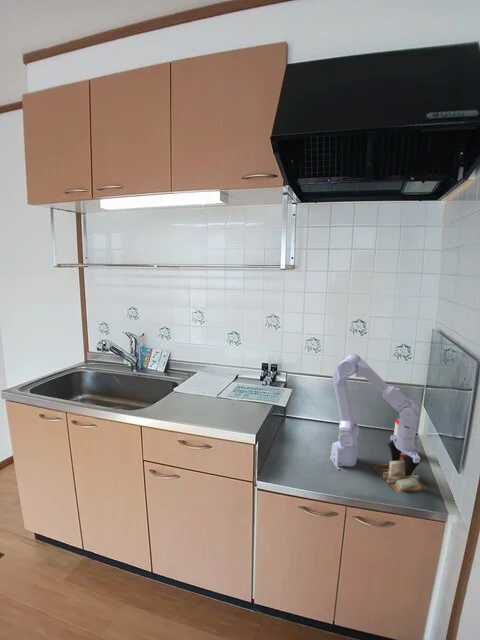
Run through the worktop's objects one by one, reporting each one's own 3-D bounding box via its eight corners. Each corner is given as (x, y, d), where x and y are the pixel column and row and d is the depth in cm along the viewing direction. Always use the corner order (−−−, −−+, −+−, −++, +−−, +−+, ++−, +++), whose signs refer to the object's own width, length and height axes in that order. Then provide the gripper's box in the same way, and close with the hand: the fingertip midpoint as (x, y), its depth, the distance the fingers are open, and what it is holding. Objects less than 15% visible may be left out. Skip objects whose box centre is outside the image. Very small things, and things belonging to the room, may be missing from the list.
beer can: (409, 460, 136) (414, 424, 133) (393, 458, 137) (398, 422, 134) (405, 451, 142) (410, 416, 139) (389, 449, 143) (394, 415, 140)
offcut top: (401, 488, 116) (402, 485, 116) (396, 483, 118) (396, 480, 118) (417, 484, 118) (418, 481, 118) (412, 480, 120) (412, 477, 120)
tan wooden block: (390, 481, 121) (392, 463, 120) (387, 478, 123) (389, 461, 122) (412, 479, 123) (415, 462, 121) (410, 476, 124) (412, 459, 123)
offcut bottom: (400, 490, 116) (400, 487, 116) (395, 485, 119) (395, 482, 119) (421, 489, 118) (421, 486, 117) (415, 483, 120) (415, 480, 120)
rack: (394, 494, 116) (395, 487, 115) (372, 469, 129) (373, 462, 129) (428, 492, 118) (429, 484, 117) (403, 467, 131) (404, 460, 131)
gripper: (430, 445, 113) (424, 480, 116) (404, 424, 127) (399, 456, 130) (411, 446, 112) (406, 482, 115) (386, 424, 126) (382, 457, 129)
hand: (401, 468), depth 122 cm, fingers open, 7 cm apart
